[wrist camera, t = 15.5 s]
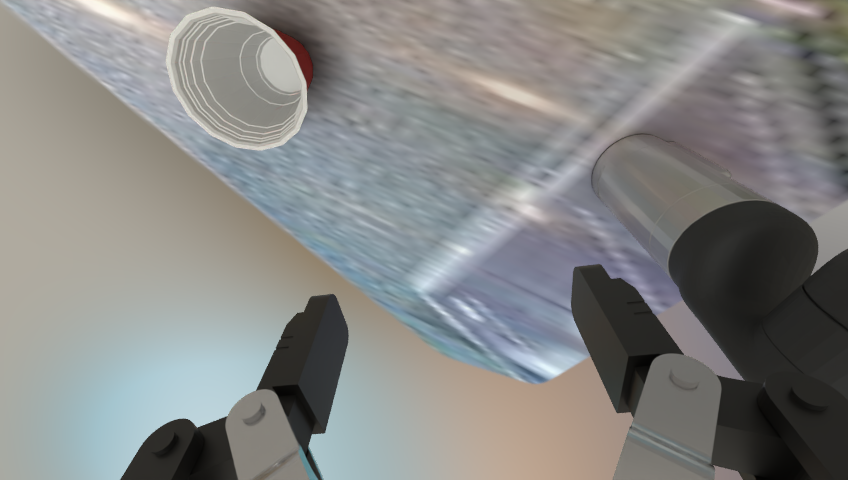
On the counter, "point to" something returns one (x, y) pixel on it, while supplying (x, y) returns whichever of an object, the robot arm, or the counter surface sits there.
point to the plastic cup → (239, 77)
